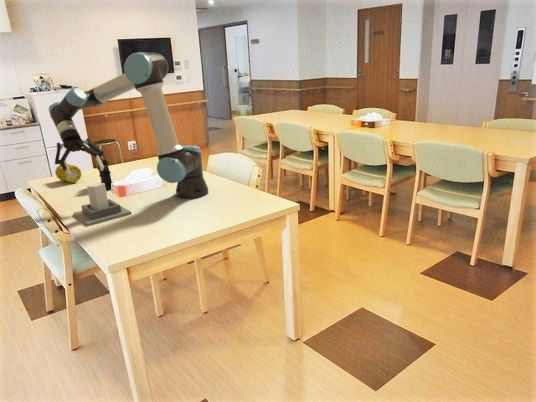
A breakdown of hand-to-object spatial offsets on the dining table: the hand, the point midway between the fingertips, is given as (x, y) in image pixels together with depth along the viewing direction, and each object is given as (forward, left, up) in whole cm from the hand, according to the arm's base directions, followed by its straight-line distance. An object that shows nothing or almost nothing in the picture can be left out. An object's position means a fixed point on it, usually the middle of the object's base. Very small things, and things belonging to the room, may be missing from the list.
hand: (86, 172), depth 177 cm
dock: (-8, +6, -17) cm, 19 cm away
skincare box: (-7, +6, -16) cm, 19 cm away
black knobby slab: (+13, -32, -17) cm, 39 cm away
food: (+41, -41, -17) cm, 61 cm away
